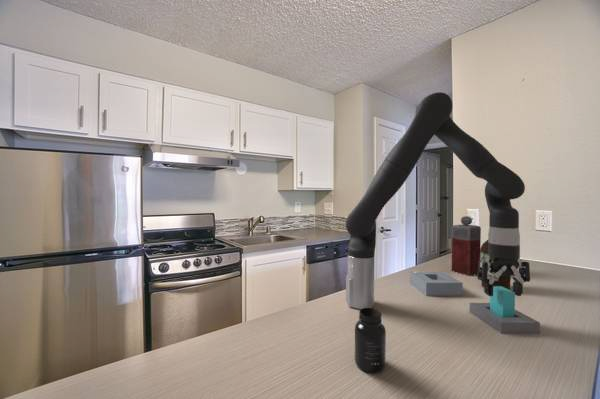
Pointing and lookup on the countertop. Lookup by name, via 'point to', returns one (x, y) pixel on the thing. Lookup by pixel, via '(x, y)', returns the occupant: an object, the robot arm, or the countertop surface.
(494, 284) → the brown glass bottle
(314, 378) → the countertop surface
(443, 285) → the block
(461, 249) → the red canister
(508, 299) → the plug
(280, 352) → the countertop surface
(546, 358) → the countertop surface
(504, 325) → the holster
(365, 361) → the supplement bottle
